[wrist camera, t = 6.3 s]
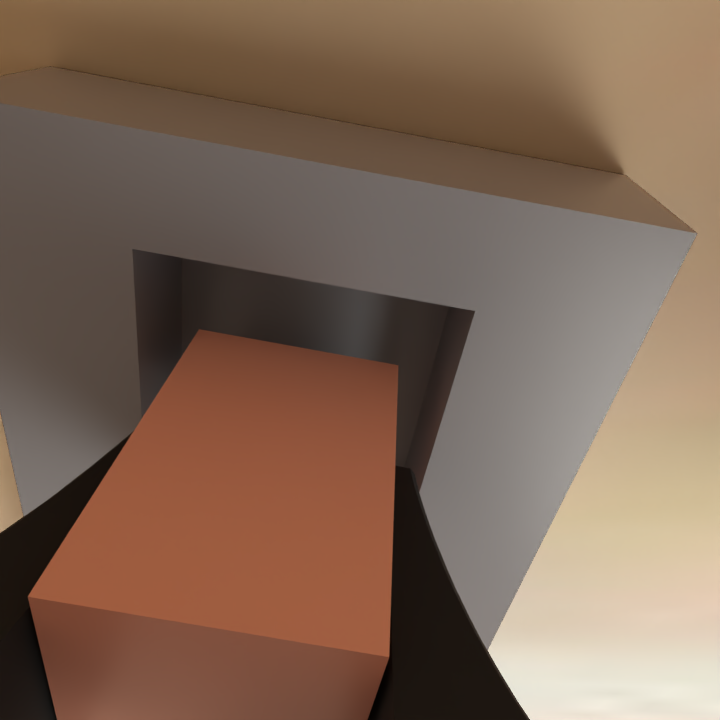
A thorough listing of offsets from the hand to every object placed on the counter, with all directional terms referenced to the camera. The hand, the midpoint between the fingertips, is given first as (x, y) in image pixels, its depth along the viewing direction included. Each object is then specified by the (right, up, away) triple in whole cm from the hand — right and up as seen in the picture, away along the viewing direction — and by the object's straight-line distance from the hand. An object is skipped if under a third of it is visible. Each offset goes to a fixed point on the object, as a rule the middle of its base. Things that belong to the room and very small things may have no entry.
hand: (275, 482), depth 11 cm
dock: (-1, -2, +6) cm, 7 cm away
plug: (0, +1, +1) cm, 2 cm away
